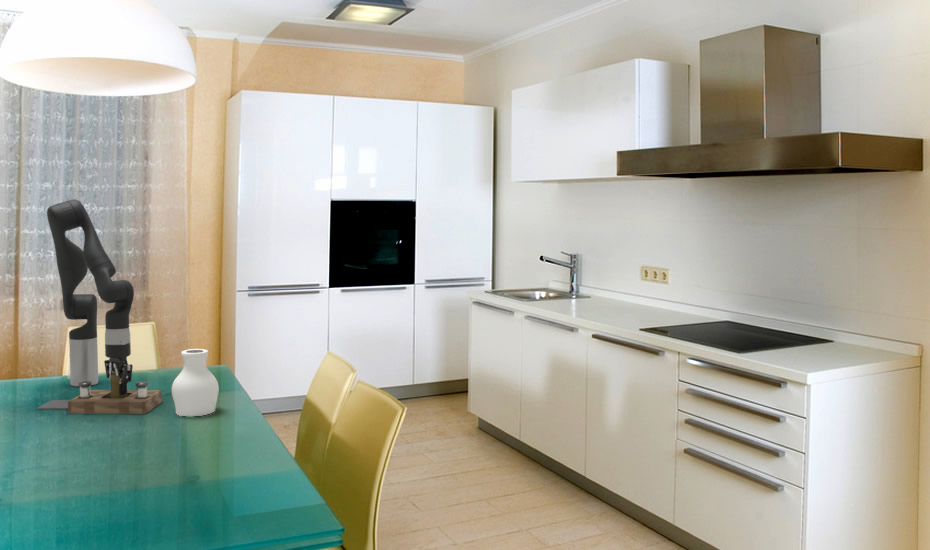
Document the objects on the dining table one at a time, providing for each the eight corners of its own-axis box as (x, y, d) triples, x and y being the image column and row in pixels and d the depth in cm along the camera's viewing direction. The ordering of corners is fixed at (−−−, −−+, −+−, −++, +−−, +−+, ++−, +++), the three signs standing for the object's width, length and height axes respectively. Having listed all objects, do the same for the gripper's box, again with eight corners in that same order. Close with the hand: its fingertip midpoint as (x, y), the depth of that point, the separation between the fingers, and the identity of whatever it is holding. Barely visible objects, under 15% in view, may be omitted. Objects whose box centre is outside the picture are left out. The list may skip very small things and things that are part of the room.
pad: (52, 401, 254) (52, 400, 254) (82, 402, 254) (82, 400, 254) (36, 409, 244) (36, 407, 244) (68, 409, 245) (68, 408, 244)
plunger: (82, 405, 248) (81, 381, 247) (94, 405, 248) (93, 381, 247) (77, 408, 244) (76, 383, 243) (89, 408, 244) (88, 383, 243)
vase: (198, 404, 254) (197, 345, 252) (228, 410, 247) (227, 350, 245) (162, 413, 242) (161, 351, 240) (192, 420, 235) (191, 356, 233)
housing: (89, 401, 255) (89, 389, 255) (162, 402, 256) (161, 390, 256) (68, 413, 240) (67, 401, 240) (145, 413, 241) (145, 401, 241)
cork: (124, 403, 253) (124, 370, 252) (131, 406, 248) (131, 373, 248) (105, 405, 249) (105, 372, 248) (112, 409, 244) (112, 375, 243)
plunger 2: (138, 405, 248) (138, 381, 248) (150, 405, 248) (149, 381, 248) (134, 408, 245) (133, 384, 244) (146, 408, 245) (145, 384, 244)
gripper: (95, 340, 248) (96, 391, 250) (117, 345, 239) (119, 398, 241) (117, 337, 254) (118, 387, 256) (140, 342, 245) (141, 394, 247)
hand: (119, 392), depth 248 cm, fingers closed on cork, 5 cm apart
